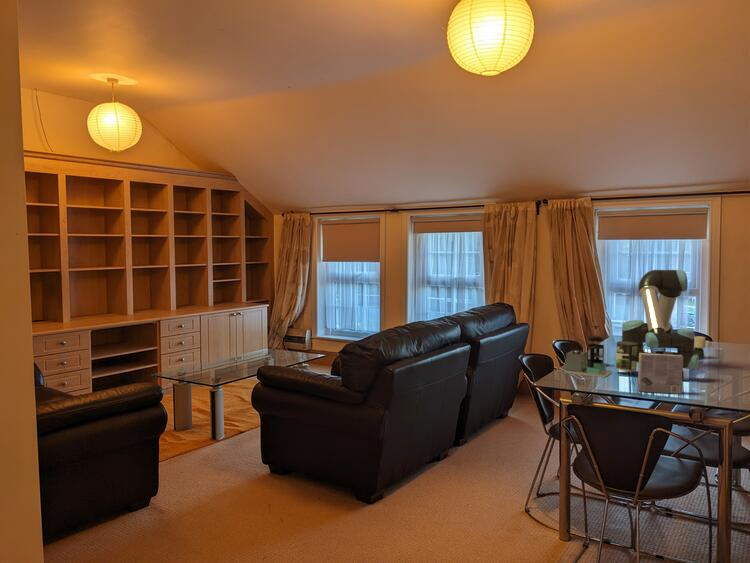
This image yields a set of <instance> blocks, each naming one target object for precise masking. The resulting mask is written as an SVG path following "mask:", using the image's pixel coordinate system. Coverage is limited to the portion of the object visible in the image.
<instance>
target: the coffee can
mask: <svg viewBox="0 0 750 563" xmlns="http://www.w3.org/2000/svg"><path fill="white" fill-rule="evenodd" d="M637 345H638V343H635V342H628V341H622V340H621V341H616V353H619V354H630V355H637ZM615 360H616V361H615V362H616V363H615V369H616V370H617V371H618V370H619V371H623V372H635V371H638V362H637V361H629V360H625V359H616V358H615Z"/></svg>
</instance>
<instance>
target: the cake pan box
mask: <svg viewBox="0 0 750 563" xmlns="http://www.w3.org/2000/svg"><path fill="white" fill-rule="evenodd" d="M684 373H685V372H684V368H683V356H681V355H666V354H648V353H639V362H638V366H637V390H638V391H639V393H656V394H673V393H676V394H677V395H682V394H683V380H684Z"/></svg>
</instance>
